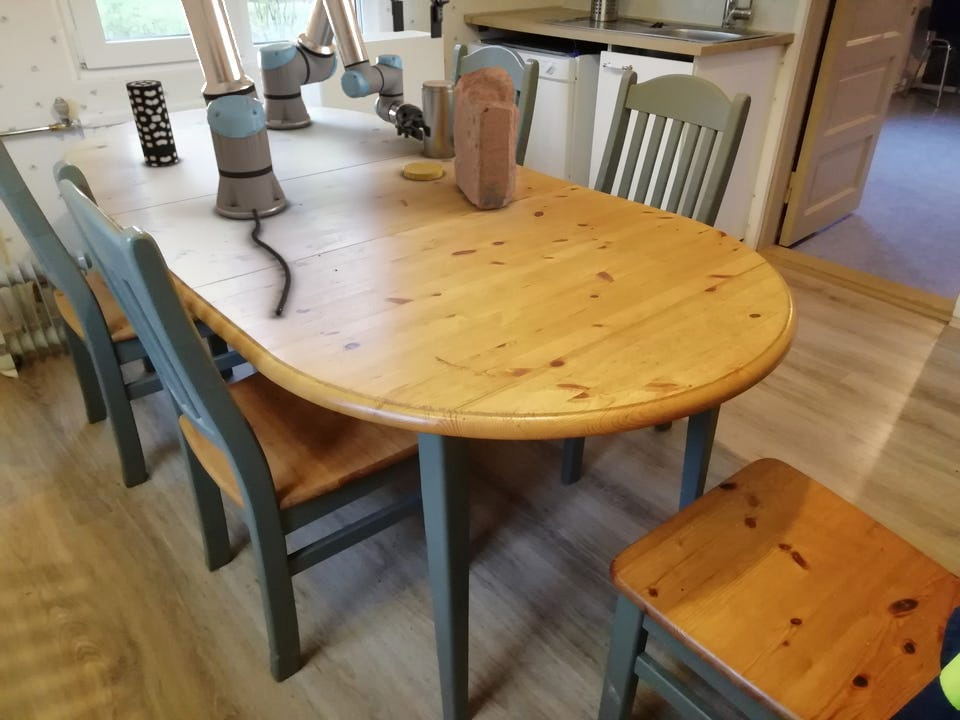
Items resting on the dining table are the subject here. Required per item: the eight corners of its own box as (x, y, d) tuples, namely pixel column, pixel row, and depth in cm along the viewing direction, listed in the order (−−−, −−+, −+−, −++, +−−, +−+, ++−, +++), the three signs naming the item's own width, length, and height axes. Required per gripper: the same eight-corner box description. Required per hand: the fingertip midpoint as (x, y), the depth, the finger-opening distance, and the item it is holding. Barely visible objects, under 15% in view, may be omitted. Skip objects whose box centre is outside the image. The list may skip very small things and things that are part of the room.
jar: (437, 160, 191) (436, 88, 180) (417, 153, 196) (414, 82, 186) (463, 154, 196) (462, 83, 186) (442, 147, 202) (441, 78, 191)
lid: (429, 182, 175) (429, 176, 174) (396, 176, 179) (395, 169, 178) (449, 171, 182) (449, 165, 181) (417, 166, 186) (417, 160, 185)
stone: (526, 207, 159) (530, 77, 145) (480, 212, 156) (479, 80, 142) (495, 182, 177) (496, 64, 162) (453, 186, 174) (450, 66, 159)
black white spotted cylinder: (184, 157, 190) (167, 80, 179) (169, 166, 183) (151, 87, 172) (155, 156, 190) (136, 79, 179) (139, 165, 183) (119, 86, 172)
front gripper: (465, -71, 146) (465, 39, 157) (391, -73, 160) (396, 27, 172) (439, -71, 141) (440, 42, 153) (365, -73, 156) (371, 30, 167)
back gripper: (443, 124, 214) (480, 139, 199) (370, 134, 203) (403, 152, 188) (442, 98, 210) (480, 113, 195) (368, 108, 198) (402, 124, 184)
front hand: (417, 34), depth 162 cm, fingers open, 13 cm apart
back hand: (443, 132), depth 191 cm, fingers open, 13 cm apart
